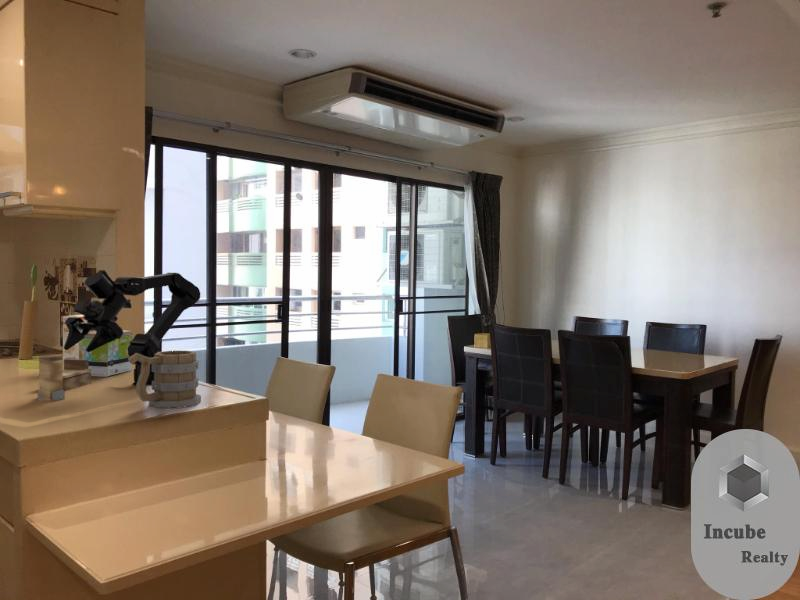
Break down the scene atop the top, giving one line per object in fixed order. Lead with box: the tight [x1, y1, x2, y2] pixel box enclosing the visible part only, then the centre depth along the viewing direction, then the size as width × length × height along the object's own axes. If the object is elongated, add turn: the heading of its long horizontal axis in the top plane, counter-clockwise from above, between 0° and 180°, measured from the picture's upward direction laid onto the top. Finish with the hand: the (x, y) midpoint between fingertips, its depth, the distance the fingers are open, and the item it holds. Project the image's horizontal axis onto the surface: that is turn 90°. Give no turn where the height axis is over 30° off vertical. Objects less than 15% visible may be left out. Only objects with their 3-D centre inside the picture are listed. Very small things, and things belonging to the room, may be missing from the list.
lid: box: [62, 359, 91, 378], centre depth 195 cm, size 13×8×4 cm, turn 174°
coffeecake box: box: [62, 314, 95, 369], centre depth 236 cm, size 15×7×20 cm, turn 168°
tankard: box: [128, 350, 202, 409], centre depth 175 cm, size 20×13×15 cm, turn 141°
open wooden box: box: [63, 372, 92, 391], centre depth 195 cm, size 13×8×4 cm, turn 174°
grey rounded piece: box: [37, 389, 66, 402], centre depth 177 cm, size 6×7×3 cm
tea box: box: [82, 329, 134, 378], centre depth 226 cm, size 15×10×15 cm, turn 171°
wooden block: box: [38, 354, 63, 400], centre depth 177 cm, size 4×4×12 cm
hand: (76, 350), depth 184 cm, fingers open, 9 cm apart
